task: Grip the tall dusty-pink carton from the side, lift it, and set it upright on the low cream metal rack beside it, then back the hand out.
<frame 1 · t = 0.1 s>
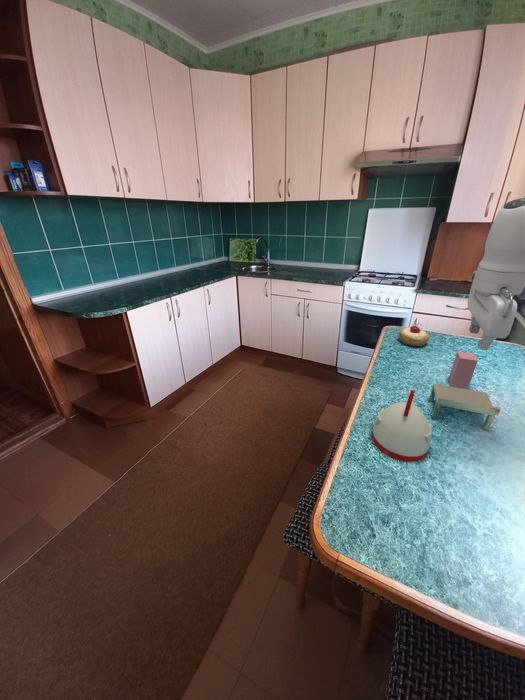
hand: (477, 340, 69), 27 cm above the table, tool pointing down, fingers open, 8 cm apart
pink carton: (457, 383, 100), on the table
pastry: (412, 342, 130), on the table
kitchen timer: (399, 441, 78), on the table
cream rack: (456, 413, 87), on the table
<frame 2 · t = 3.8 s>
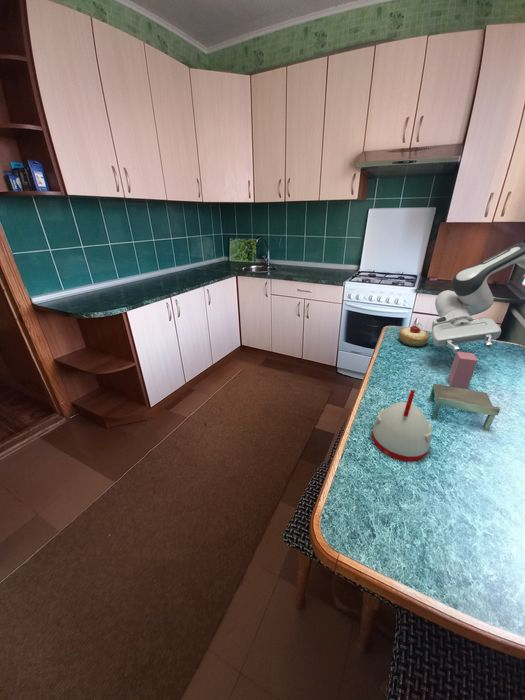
hand: (472, 348, 98), 12 cm above the table, tool tilted 70°, fingers open, 8 cm apart
nothing on the table moved.
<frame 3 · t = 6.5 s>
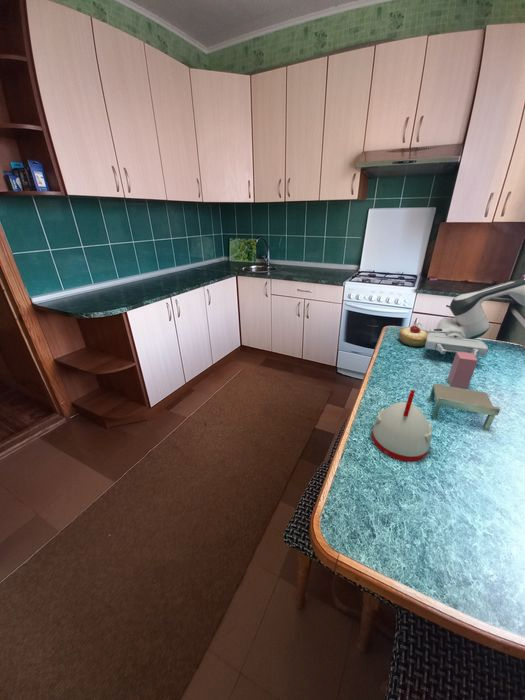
hand: (458, 354, 105), 7 cm above the table, tool horizontal, fingers open, 8 cm apart
nothing on the table moved.
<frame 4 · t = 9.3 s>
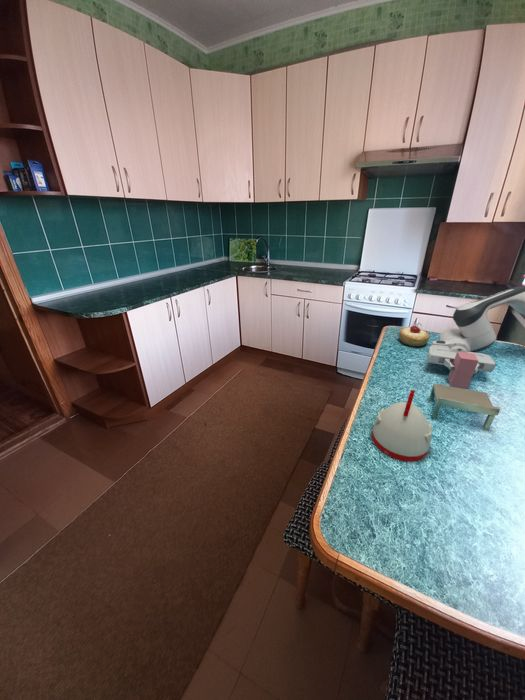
hand: (463, 369, 97), 6 cm above the table, tool horizontal, fingers closed on pink carton, 5 cm apart
pink carton: (457, 383, 100), on the table, touching gripper
everything else where it was.
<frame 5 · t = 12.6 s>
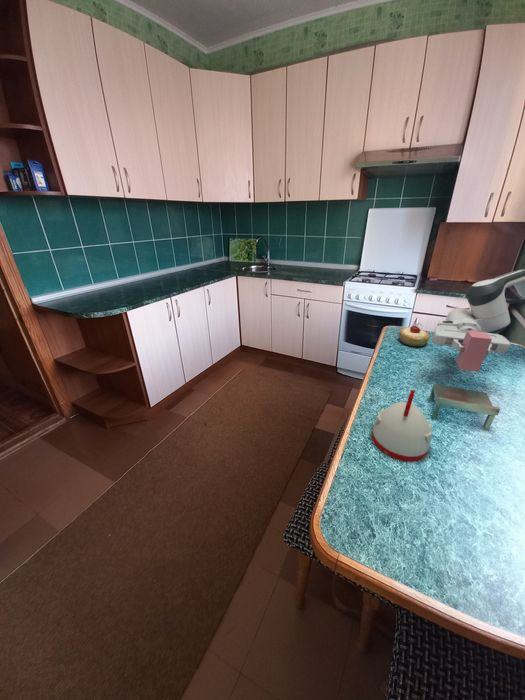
hand: (473, 350, 86), 17 cm above the table, tool horizontal, fingers closed on pink carton, 5 cm apart
pink carton: (466, 366, 89), point 11 cm above the table, touching gripper
everything else where it was.
when the fingers open (12 cm above the table, at t = 15.8 s): pink carton stays where it is, resting on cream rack.
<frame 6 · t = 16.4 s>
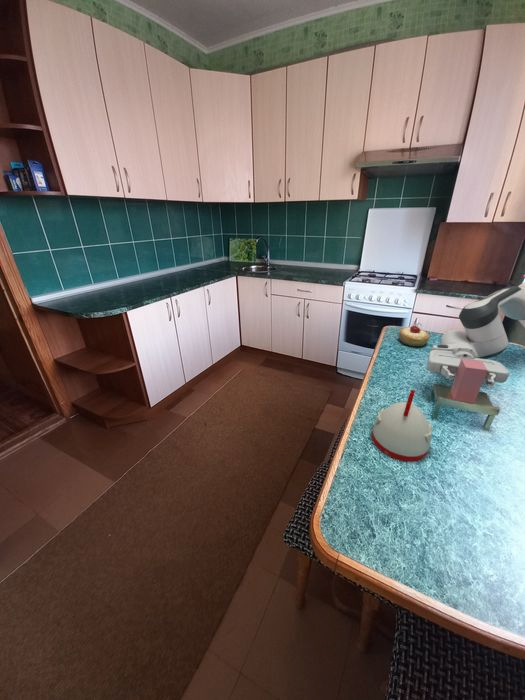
hand: (470, 380, 80), 12 cm above the table, tool horizontal, fingers open, 8 cm apart
pink carton: (462, 396, 84), point 6 cm above the table, touching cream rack
everything else where it was.
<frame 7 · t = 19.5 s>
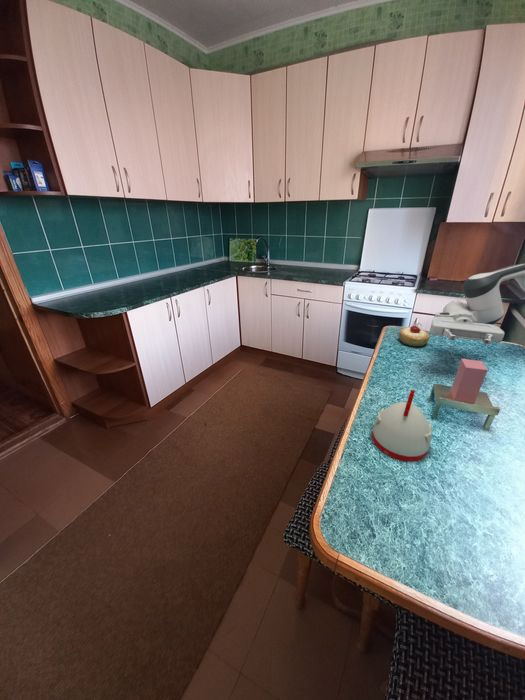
hand: (469, 339, 90), 18 cm above the table, tool horizontal, fingers open, 8 cm apart
nothing on the table moved.
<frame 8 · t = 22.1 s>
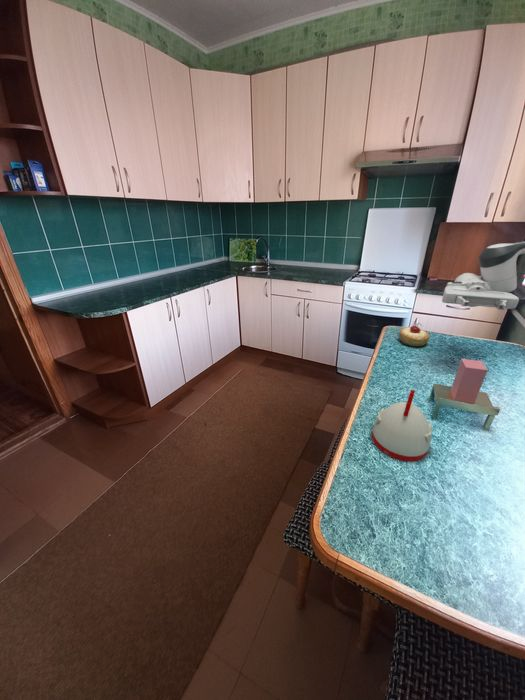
hand: (483, 305, 88), 28 cm above the table, tool horizontal, fingers open, 8 cm apart
nothing on the table moved.
at the end: pink carton inside the target area on the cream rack (0.1 cm from its centre), point 6.0 cm above the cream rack's base; pink carton tilted 0°; the gripper is holding nothing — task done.
